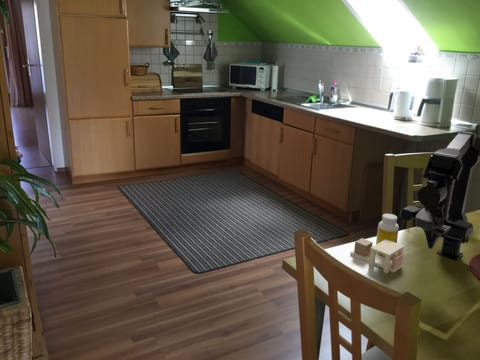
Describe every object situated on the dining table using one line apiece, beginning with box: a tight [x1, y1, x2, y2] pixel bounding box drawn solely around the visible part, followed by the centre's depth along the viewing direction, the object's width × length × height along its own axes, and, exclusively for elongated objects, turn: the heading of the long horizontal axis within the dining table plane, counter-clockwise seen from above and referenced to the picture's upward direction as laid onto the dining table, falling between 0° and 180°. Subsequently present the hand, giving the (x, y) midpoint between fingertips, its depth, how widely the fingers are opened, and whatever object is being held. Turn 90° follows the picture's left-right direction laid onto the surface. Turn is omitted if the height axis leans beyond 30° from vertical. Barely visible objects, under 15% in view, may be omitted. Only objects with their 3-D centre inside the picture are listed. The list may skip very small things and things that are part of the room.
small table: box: [368, 239, 405, 274], centre depth 136 cm, size 9×30×7 cm, turn 43°
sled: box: [350, 237, 404, 273], centre depth 141 cm, size 5×16×5 cm, turn 43°
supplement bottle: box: [375, 213, 400, 245], centre depth 149 cm, size 7×7×13 cm
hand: (430, 248), depth 127 cm, fingers closed
